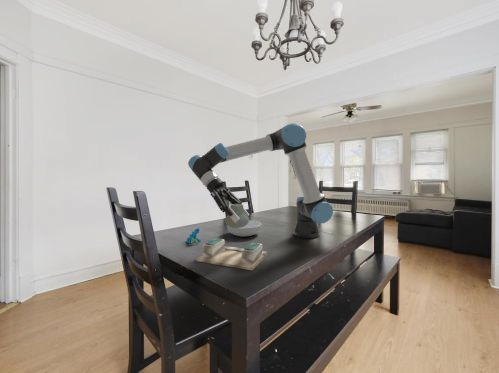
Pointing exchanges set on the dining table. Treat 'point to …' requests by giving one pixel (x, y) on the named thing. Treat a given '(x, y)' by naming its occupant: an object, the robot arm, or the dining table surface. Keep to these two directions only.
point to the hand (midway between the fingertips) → (242, 218)
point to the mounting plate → (232, 254)
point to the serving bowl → (246, 229)
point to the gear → (193, 236)
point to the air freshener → (239, 212)
